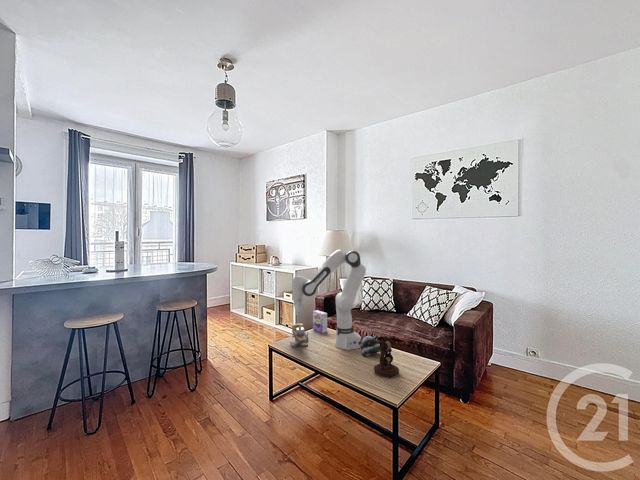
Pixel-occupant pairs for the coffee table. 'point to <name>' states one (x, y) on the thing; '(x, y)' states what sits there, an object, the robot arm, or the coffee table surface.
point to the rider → (300, 331)
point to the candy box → (320, 321)
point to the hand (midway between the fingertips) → (298, 315)
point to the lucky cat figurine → (369, 345)
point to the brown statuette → (386, 360)
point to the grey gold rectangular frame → (299, 337)
